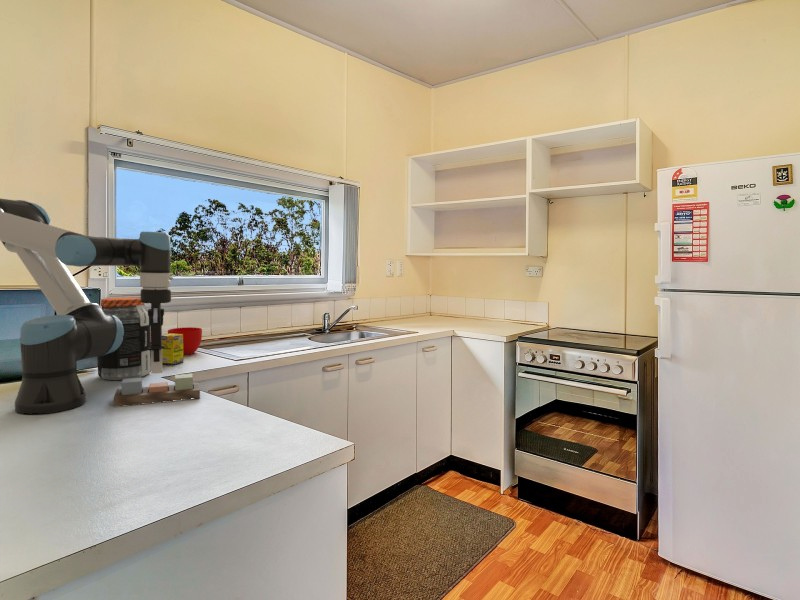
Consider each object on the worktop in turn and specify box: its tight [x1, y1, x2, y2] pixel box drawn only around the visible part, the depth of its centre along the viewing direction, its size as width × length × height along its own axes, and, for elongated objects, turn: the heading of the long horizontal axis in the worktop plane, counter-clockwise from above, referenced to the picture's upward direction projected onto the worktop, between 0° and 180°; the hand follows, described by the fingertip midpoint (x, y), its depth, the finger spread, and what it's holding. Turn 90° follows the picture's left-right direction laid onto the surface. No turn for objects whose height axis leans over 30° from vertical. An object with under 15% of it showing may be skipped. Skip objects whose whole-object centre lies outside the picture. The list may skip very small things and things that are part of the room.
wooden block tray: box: [113, 382, 201, 407], centre depth 136 cm, size 21×9×2 cm, turn 114°
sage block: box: [174, 373, 194, 390], centre depth 138 cm, size 5×5×4 cm
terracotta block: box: [148, 381, 169, 393], centre depth 136 cm, size 5×5×4 cm
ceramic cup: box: [167, 326, 203, 356], centre depth 199 cm, size 13×17×10 cm
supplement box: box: [162, 333, 184, 366], centre depth 181 cm, size 6×6×11 cm
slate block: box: [120, 377, 143, 395], centre depth 133 cm, size 5×5×4 cm
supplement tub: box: [96, 297, 151, 381], centre depth 161 cm, size 16×16×26 cm
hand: (156, 372), depth 135 cm, fingers closed
